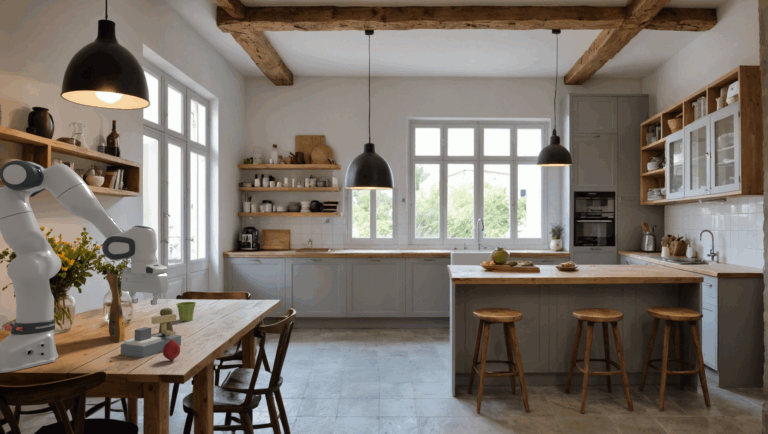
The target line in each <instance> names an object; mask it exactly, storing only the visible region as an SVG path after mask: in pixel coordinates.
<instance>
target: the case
mask: <svg viewBox="0 0 768 434" xmlns="http://www.w3.org/2000/svg"><path fill="white" fill-rule="evenodd" d="M151 337H160V338H161V341H159V342H155V343H152V344H149V345H145V346H135V345H127V344H124V342H123V343H120V355H121V356H128V357H134V358H142V359H144V358H146V357H147V358H148V357H150V356H153V355H156V354H159V353H161V352H162V353H163V348H164V346H165V345H166V344H167V343H168V342H169V341H170V340H171V339H174V341H175V342H176V343H178V344H179V346H180V347H181V346H182V335H179V334H176V335H172V336H170V335H167V334H166V335H161V333H159V332H158V333H156V334H153V335H152V334H151Z"/></svg>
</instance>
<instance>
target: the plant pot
mask: <svg viewBox="0 0 768 434" xmlns="http://www.w3.org/2000/svg"><path fill="white" fill-rule="evenodd" d="M196 304H197V302H195V301H184V302H183V301H182V302H177V303H176V307H177V310H178V317H179V321H180V322H191V321H193V319H194V312H195V307H196Z"/></svg>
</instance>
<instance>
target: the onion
mask: <svg viewBox="0 0 768 434" xmlns="http://www.w3.org/2000/svg"><path fill="white" fill-rule="evenodd" d="M180 353H181V346H179V344H178V343H176V342H175V341H174V339H171V340H170V341H169V342H168V343H167V344H166V345H165V346H164V348H163V352H162V355H163V357H164V358H165V359H166V360H169V361H171V362H172V361H174V360H175V359H176V358H177V357H178V356H179V355H180Z"/></svg>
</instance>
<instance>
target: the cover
mask: <svg viewBox="0 0 768 434" xmlns="http://www.w3.org/2000/svg"><path fill="white" fill-rule="evenodd" d="M151 336H152V327H147V326H146V327H145V326H144V327H141V328H136V329H134V337H133V338H130V339H127V340H123V343H124V344H127V345H135V346H145V345H149V344H152V343H155V342H159V341H161V338H160V337H151Z"/></svg>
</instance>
